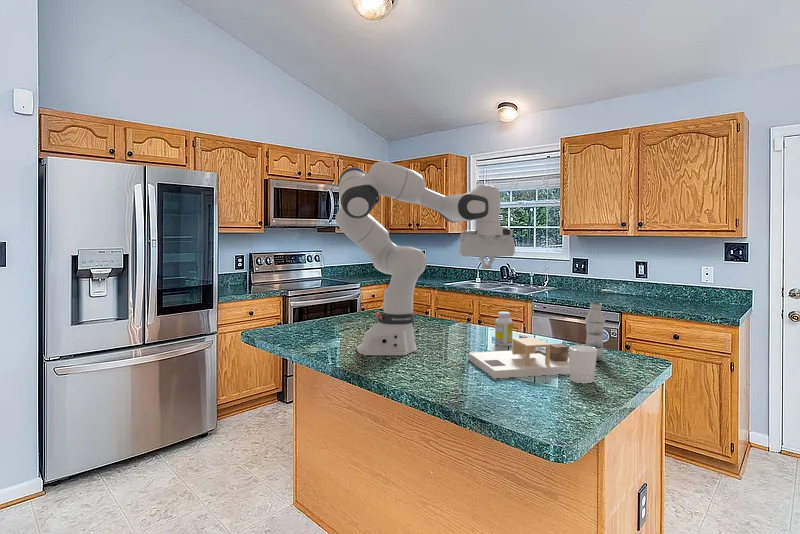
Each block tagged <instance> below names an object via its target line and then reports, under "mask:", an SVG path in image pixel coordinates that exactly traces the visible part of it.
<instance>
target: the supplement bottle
mask: <svg viewBox="0 0 800 534" xmlns="http://www.w3.org/2000/svg"><path fill="white" fill-rule="evenodd" d="M497 316H498V318H496V319H495V322H494V323H495V325H494V326H495V328H494V329H495V331H494V333H495V334H494V337H495V339H494V341H495V345H497V346H500V347H509V346H512V339H513V320H512V318H510V317H511V312H509V311H498V312H497Z"/></svg>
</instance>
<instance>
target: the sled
mask: <svg viewBox="0 0 800 534" xmlns="http://www.w3.org/2000/svg"><path fill="white" fill-rule="evenodd" d="M518 338H529V337H528V336H526V335H524V334H519V335H518ZM549 344H550V359H552V360H554V361H565V360H568V357H569V346H568V345H565V344H562V343H549ZM535 352H540V353H542V354H544V355H545V352H546V348H545V347H540V348H535Z"/></svg>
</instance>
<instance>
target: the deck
mask: <svg viewBox="0 0 800 534" xmlns="http://www.w3.org/2000/svg"><path fill="white" fill-rule="evenodd" d="M550 344H551V343H548V342H545V341H543V340H541V339H538V338H536V337H528V338H519V337H516V338H514V337H512V345H511V350H497V351H496V350H495V351H478V352H468V361H469V362H471V363H472V364H474V365H475V366H476V367H478V368H479V369H480V370H482V371H483V372H484V373H486V374H487V373H488V374H487V375H489V376H490V377H491V376H492V379H494V380H496V378H500V379H510V378H509V377H515V378H529V377H528V376H531V377H543V376H542V375H547V376H557V374H562V375H570V371H569V356H568V360H565V361H554V360H552V359H550ZM535 348H545V349H546V352H545V355H544V354H542V353H540V352H535Z"/></svg>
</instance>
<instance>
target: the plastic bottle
mask: <svg viewBox="0 0 800 534" xmlns="http://www.w3.org/2000/svg"><path fill="white" fill-rule="evenodd" d="M589 309H590V310H589V311H588V313H587V314H586V316H585V326H586V327H585V328H586V340H585V346H590V347H594V348H596V349H597V357H596V362H597V361H599V362H601V361H603V359H604V354H605V352H604V341H603V339H604V338H603V337H604V329H605V323H606V317H605V315H604V313H603V312H602V310H603V309H602V303H598V302H590V305H589Z"/></svg>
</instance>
